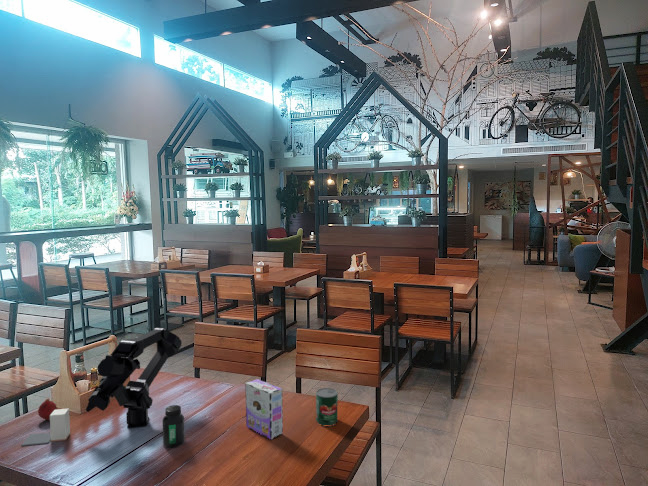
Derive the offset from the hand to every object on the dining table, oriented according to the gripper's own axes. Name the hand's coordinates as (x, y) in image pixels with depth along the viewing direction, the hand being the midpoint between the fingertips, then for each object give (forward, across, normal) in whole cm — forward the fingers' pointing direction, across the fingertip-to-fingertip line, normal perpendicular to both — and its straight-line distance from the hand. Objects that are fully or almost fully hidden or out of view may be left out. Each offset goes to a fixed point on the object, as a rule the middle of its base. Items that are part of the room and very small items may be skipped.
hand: (87, 410), depth 155 cm
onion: (+19, +16, +7) cm, 25 cm away
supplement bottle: (-13, -12, -27) cm, 33 cm away
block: (+12, +1, 0) cm, 12 cm away
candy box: (-33, -11, -50) cm, 61 cm away
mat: (+17, +1, +5) cm, 18 cm away
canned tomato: (-49, -9, -67) cm, 83 cm away
